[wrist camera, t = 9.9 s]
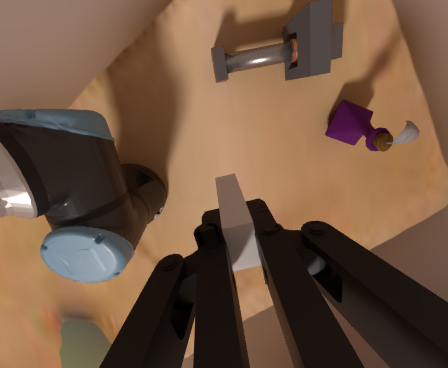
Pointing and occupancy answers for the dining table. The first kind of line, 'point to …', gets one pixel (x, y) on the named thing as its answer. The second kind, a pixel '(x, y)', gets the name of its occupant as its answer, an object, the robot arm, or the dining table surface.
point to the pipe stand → (266, 55)
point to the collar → (310, 40)
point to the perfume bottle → (365, 128)
